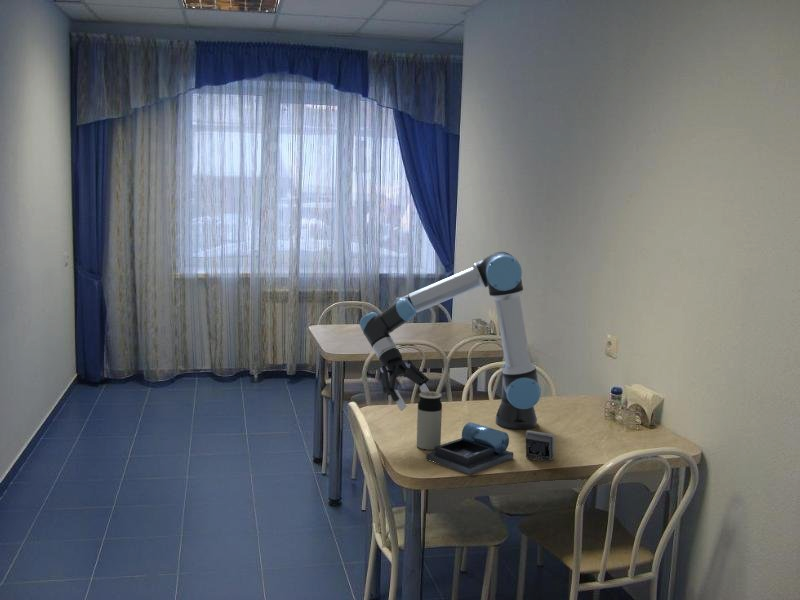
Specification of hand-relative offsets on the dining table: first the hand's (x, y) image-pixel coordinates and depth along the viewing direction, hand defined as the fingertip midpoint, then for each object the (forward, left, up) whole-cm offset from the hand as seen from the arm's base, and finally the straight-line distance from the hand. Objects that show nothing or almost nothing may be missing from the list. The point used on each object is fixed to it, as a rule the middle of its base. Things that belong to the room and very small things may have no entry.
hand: (417, 405), depth 267 cm
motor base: (-2, +22, -13) cm, 26 cm away
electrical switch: (-19, +37, -14) cm, 43 cm away
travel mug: (-1, +5, -14) cm, 14 cm away
